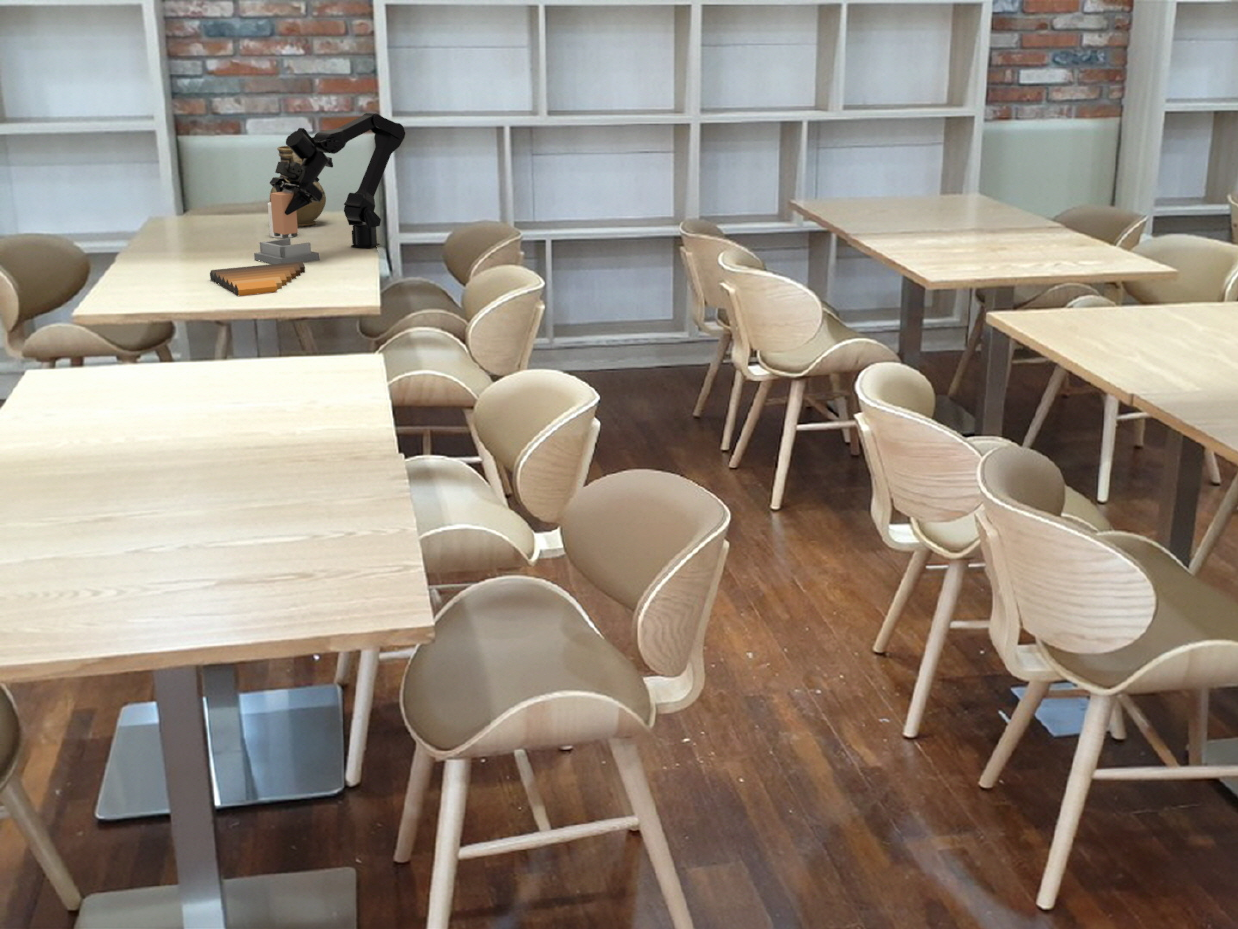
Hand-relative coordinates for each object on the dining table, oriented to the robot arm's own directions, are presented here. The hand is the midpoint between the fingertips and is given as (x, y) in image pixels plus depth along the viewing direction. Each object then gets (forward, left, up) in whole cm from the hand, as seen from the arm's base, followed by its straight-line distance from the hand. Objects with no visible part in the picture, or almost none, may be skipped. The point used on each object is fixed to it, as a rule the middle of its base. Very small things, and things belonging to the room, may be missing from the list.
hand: (279, 212), depth 399 cm
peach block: (-1, -1, -7) cm, 7 cm away
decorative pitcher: (+30, -56, -14) cm, 65 cm away
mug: (+22, -34, -14) cm, 43 cm away
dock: (0, -1, -13) cm, 13 cm away
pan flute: (-14, +28, -14) cm, 35 cm away
